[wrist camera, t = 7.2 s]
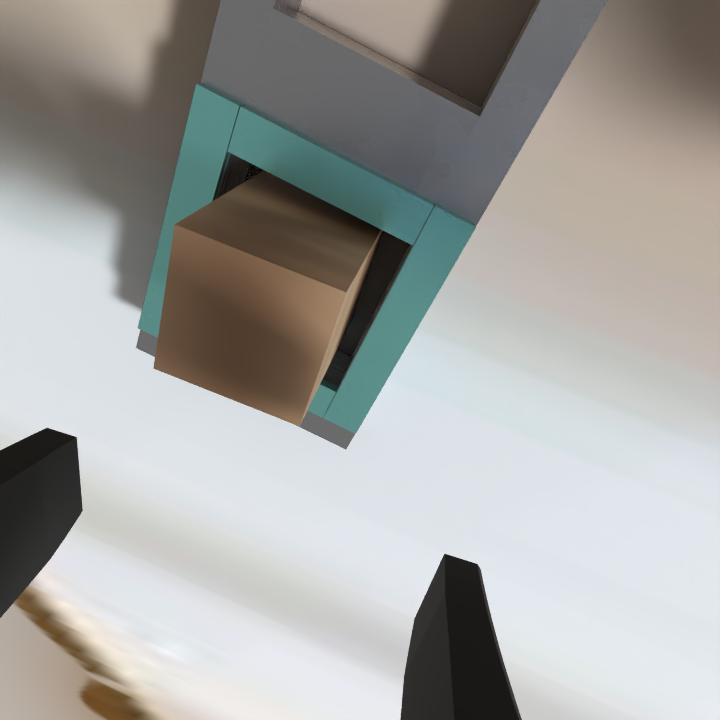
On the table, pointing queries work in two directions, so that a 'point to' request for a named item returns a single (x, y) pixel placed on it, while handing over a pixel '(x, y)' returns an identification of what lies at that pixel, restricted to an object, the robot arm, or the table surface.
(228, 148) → the grey slotted board
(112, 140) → the table surface
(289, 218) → the walnut block
